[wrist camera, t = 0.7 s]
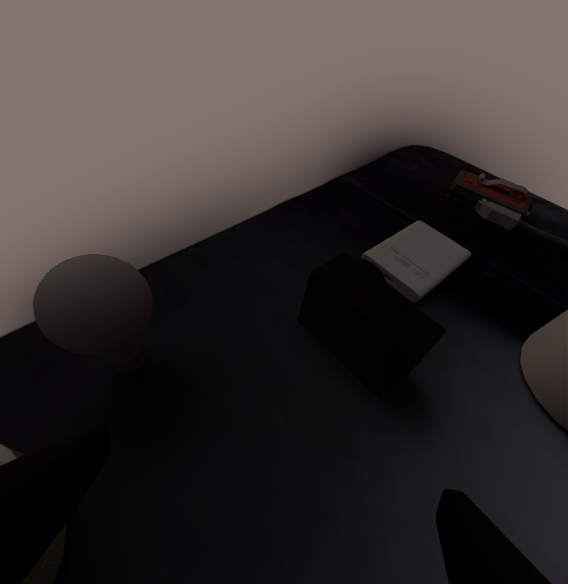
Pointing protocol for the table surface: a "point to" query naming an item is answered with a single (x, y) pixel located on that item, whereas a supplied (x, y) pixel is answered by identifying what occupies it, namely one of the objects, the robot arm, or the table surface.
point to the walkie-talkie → (496, 202)
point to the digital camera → (366, 322)
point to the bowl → (50, 561)
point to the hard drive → (417, 259)
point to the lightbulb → (96, 309)
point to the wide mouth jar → (549, 367)
